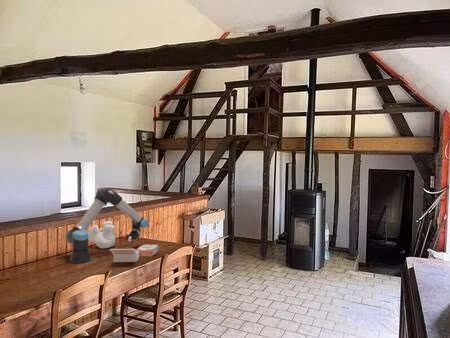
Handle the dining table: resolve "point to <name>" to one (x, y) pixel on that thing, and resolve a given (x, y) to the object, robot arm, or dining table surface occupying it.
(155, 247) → the cracker box
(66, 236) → the robot arm
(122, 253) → the mailer lid
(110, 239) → the decorative rooster
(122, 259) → the box
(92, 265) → the dining table surface
